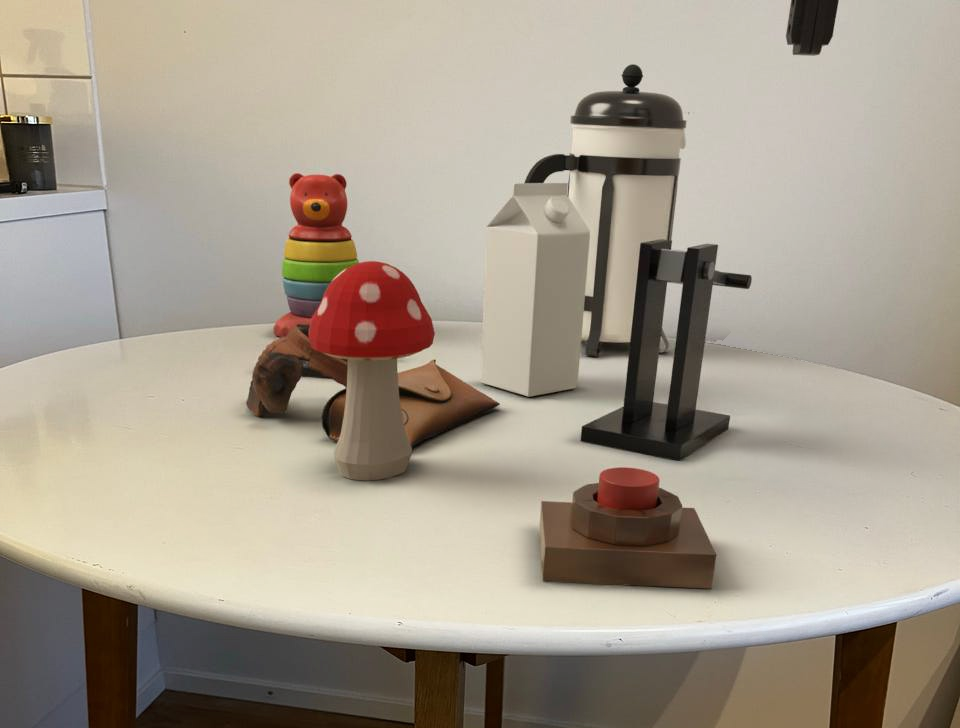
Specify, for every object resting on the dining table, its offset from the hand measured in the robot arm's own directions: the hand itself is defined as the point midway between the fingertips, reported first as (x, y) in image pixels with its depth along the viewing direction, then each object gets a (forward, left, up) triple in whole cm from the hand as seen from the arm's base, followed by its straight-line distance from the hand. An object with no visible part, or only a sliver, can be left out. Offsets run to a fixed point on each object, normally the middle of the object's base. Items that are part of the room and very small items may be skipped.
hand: (806, 54), depth 70 cm
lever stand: (+6, -7, -29) cm, 30 cm away
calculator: (+39, -29, -29) cm, 57 cm away
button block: (+12, +22, -29) cm, 38 cm away
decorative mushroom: (+29, +6, -29) cm, 42 cm away
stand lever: (+3, -12, -17) cm, 21 cm away
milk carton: (+17, -23, -29) cm, 41 cm away
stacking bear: (+42, -47, -29) cm, 69 cm away
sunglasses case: (+27, -7, -29) cm, 40 cm away
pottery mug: (+38, -9, -29) cm, 49 cm away
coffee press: (+8, -45, -29) cm, 54 cm away
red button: (+12, +22, -25) cm, 36 cm away
